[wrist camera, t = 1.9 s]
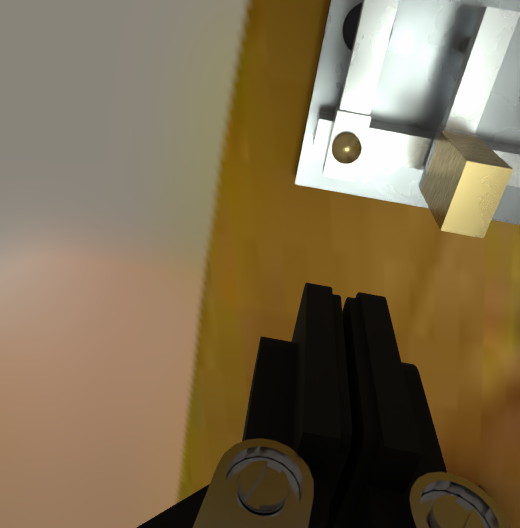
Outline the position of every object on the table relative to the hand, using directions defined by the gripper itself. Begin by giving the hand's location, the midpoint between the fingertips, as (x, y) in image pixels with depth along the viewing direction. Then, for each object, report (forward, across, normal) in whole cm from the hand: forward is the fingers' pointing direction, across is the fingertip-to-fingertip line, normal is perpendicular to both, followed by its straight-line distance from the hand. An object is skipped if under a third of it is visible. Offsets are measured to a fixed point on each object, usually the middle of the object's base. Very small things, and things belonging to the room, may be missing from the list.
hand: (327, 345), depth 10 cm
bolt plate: (+19, -8, -3) cm, 21 cm away
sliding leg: (+18, -6, -3) cm, 19 cm away
